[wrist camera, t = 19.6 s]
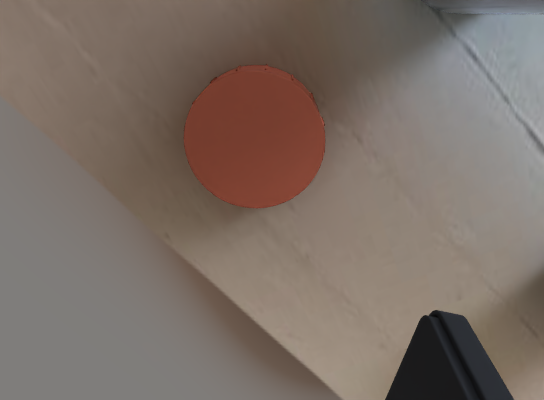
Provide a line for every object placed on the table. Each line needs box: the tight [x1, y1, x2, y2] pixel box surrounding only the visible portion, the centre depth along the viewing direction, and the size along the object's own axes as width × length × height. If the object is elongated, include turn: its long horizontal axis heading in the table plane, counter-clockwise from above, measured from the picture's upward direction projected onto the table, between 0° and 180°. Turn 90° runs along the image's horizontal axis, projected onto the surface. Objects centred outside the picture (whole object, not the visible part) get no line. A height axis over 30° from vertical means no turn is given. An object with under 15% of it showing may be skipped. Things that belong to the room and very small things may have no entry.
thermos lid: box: [184, 65, 325, 208], centre depth 25 cm, size 7×7×2 cm
